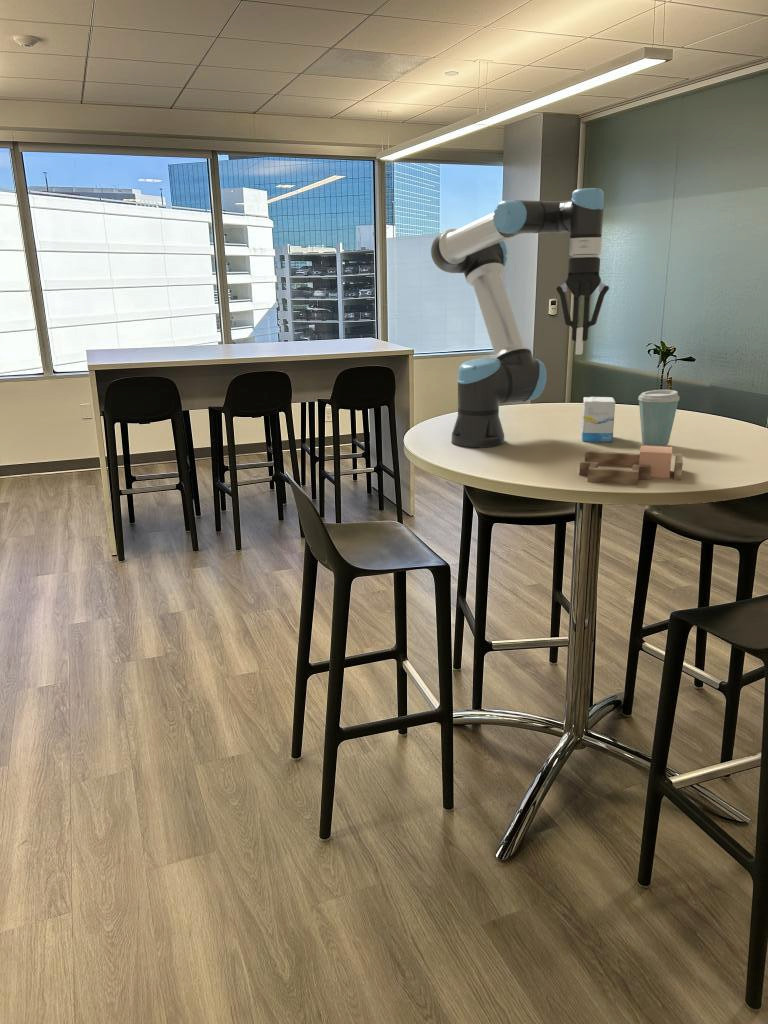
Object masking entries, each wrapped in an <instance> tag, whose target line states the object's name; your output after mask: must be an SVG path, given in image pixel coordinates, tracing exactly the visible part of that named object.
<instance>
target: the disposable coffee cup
mask: <svg viewBox="0 0 768 1024" xmlns="http://www.w3.org/2000/svg"><path fill="white" fill-rule="evenodd" d="M678 392H679V391H677V390H672V389H654V390H648V391H643V392H642V393H640V395H638V398H637V400H638V405H639V415H640V416H639V418H640V419H639V420H640V429H641V441H642V444H643V445H642V446H662V447H668V444H669V443H670V439H671V435H672V430H673V425H674V421H675V417H676V413H677V409H678V403H679V401H680V395H679V393H678Z"/></svg>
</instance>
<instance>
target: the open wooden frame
mask: <svg viewBox="0 0 768 1024" xmlns="http://www.w3.org/2000/svg"><path fill="white" fill-rule="evenodd" d="M683 456H684V455H683V453H681V452H680V453H679V452H678V453H677V452H676V453H675V458H674V469H673V471H674V472H673V473H674V474H673V480H675V481H681V480H682V475H683V463H684V462H683V461H684V460H683V459H684V458H683ZM639 458H640V453H632V452H630V453H629V452H628V453H627V452H614V451H613V452H612V451H598V450H597V451H596V450H585V453H584V461H583V460H581V461H580V462H579V473H578V475H580V476H587V482H590V483H591V482H592V483H606V484H618V485H634V486H635V485H636V486H638V485H639V480H648V481H649V480H650V481H651V477H650V473H651V466H650V465H639ZM598 465H601V466H614V467H631V469H621V468H620V469H618V468H605V467H598Z"/></svg>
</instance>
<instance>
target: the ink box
mask: <svg viewBox="0 0 768 1024" xmlns="http://www.w3.org/2000/svg"><path fill="white" fill-rule="evenodd" d="M615 411H616V401H615V399H614V397H611V396H610V397H609V396H584V397H583V401H582V415H581V430H580V431H581V432H580V436H581V440H582V442H593V443H595V442H597V443H598V442H600V443H601V442H602V443H613V439H614V425H615V413H616V412H615Z"/></svg>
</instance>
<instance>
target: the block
mask: <svg viewBox="0 0 768 1024" xmlns="http://www.w3.org/2000/svg"><path fill="white" fill-rule="evenodd" d="M639 454H640V458H639V465H650V466H651V473H650V478H663V479H670V475H671V469H672V468H671V466H672V455H673V446H666V447H662V446H644V445H640V451H639Z"/></svg>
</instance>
